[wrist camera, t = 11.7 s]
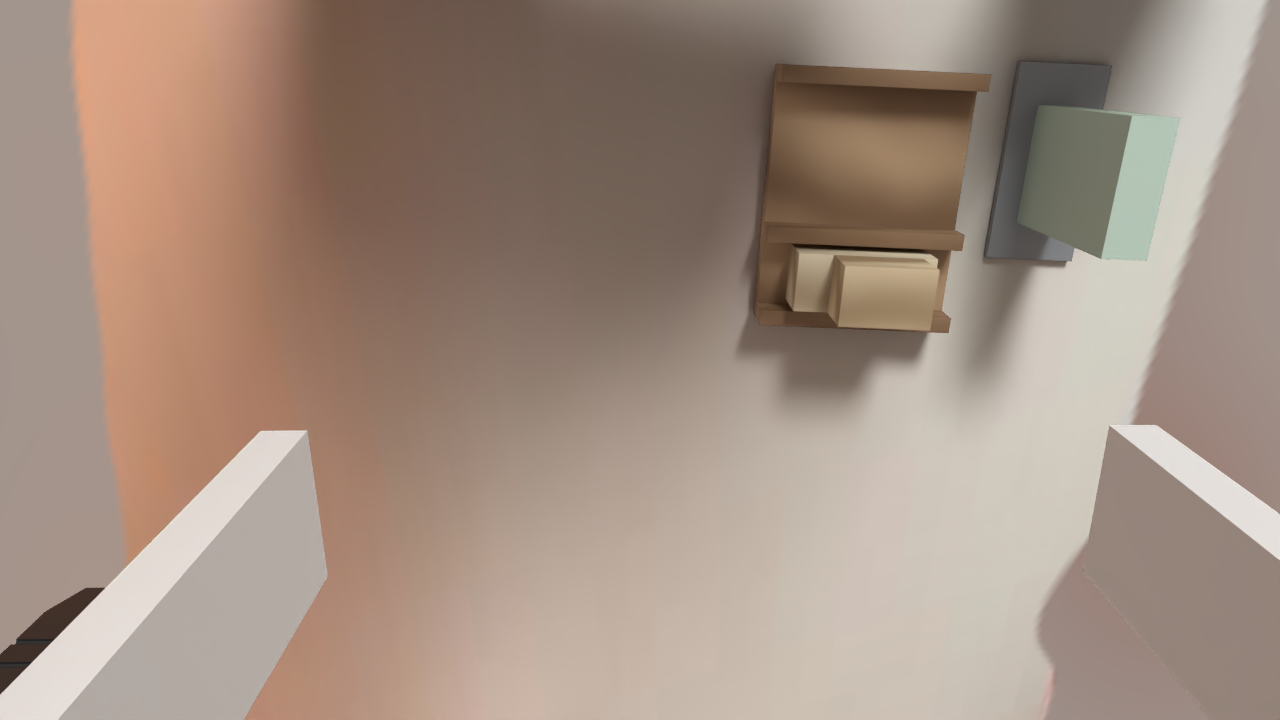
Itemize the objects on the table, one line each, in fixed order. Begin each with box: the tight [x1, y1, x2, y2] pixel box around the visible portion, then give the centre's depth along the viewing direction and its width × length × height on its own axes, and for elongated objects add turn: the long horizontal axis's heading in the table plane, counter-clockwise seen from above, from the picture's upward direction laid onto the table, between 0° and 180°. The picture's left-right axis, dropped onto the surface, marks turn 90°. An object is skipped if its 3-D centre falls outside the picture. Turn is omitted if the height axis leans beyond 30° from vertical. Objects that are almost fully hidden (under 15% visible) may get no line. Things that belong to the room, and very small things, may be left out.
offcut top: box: [827, 255, 940, 331], centre depth 44 cm, size 3×4×2 cm, turn 87°
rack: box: [754, 64, 991, 333], centre depth 46 cm, size 13×10×2 cm
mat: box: [984, 61, 1112, 261], centre depth 46 cm, size 10×5×1 cm, turn 177°
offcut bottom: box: [785, 244, 938, 313], centre depth 46 cm, size 3×7×2 cm, turn 87°
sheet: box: [1017, 105, 1180, 261], centre depth 42 cm, size 6×2×9 cm, turn 177°
